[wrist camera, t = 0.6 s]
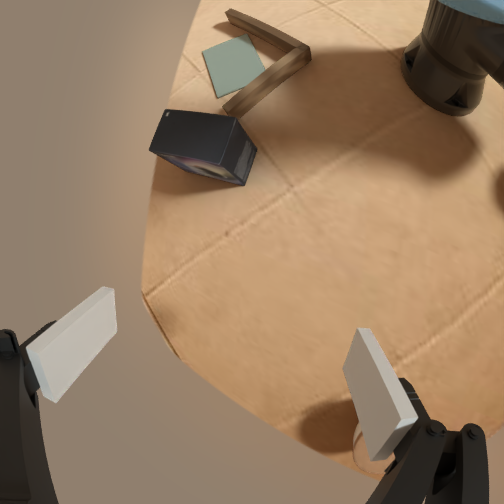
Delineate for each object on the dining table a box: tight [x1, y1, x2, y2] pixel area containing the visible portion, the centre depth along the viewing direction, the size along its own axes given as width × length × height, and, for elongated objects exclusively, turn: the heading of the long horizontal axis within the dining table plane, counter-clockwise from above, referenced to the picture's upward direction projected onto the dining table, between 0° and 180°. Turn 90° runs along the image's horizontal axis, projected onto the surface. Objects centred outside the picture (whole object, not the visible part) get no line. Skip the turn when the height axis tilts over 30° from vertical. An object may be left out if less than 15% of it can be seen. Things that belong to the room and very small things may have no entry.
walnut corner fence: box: [222, 9, 312, 120], centre depth 39 cm, size 17×20×4 cm
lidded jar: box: [353, 422, 395, 474], centre depth 28 cm, size 11×11×9 cm
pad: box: [203, 34, 265, 98], centre depth 40 cm, size 9×13×1 cm
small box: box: [149, 109, 257, 186], centre depth 35 cm, size 11×6×10 cm, turn 71°
